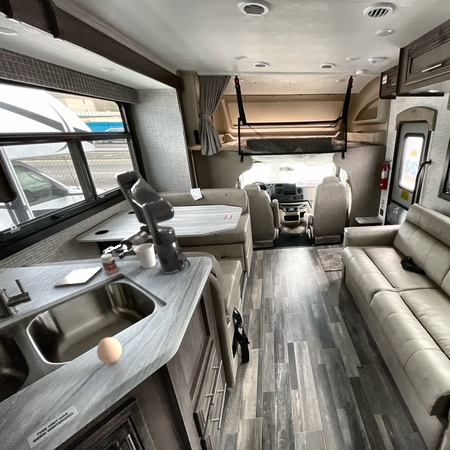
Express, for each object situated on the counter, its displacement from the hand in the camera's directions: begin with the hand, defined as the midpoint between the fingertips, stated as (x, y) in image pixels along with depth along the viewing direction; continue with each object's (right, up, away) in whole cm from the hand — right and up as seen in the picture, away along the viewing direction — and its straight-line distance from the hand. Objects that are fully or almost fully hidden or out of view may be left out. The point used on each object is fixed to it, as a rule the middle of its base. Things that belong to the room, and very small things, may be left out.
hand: (110, 257), depth 114 cm
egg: (+36, -24, -44) cm, 62 cm away
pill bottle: (0, -6, 0) cm, 7 cm away
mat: (-11, -9, -4) cm, 15 cm away
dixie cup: (+16, -4, +4) cm, 17 cm away
